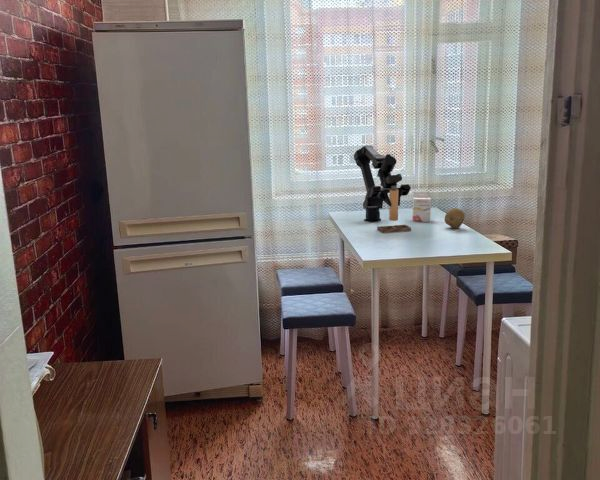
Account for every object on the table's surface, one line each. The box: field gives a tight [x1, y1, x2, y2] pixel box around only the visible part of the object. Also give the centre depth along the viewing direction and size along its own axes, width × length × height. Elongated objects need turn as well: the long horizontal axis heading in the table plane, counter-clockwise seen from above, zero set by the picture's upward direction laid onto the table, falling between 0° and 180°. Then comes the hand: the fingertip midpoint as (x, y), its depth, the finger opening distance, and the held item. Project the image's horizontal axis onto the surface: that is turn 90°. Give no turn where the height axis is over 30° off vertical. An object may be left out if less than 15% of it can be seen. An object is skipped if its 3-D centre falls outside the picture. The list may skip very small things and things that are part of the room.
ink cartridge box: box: [411, 190, 432, 223], centre depth 311 cm, size 9×5×15 cm, turn 84°
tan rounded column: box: [388, 185, 399, 222], centre depth 288 cm, size 4×4×16 cm
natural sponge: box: [444, 207, 466, 230], centre depth 293 cm, size 9×9×10 cm
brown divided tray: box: [376, 224, 412, 234], centre depth 292 cm, size 14×7×2 cm, turn 103°
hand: (394, 205), depth 287 cm, fingers closed on tan rounded column, 4 cm apart
